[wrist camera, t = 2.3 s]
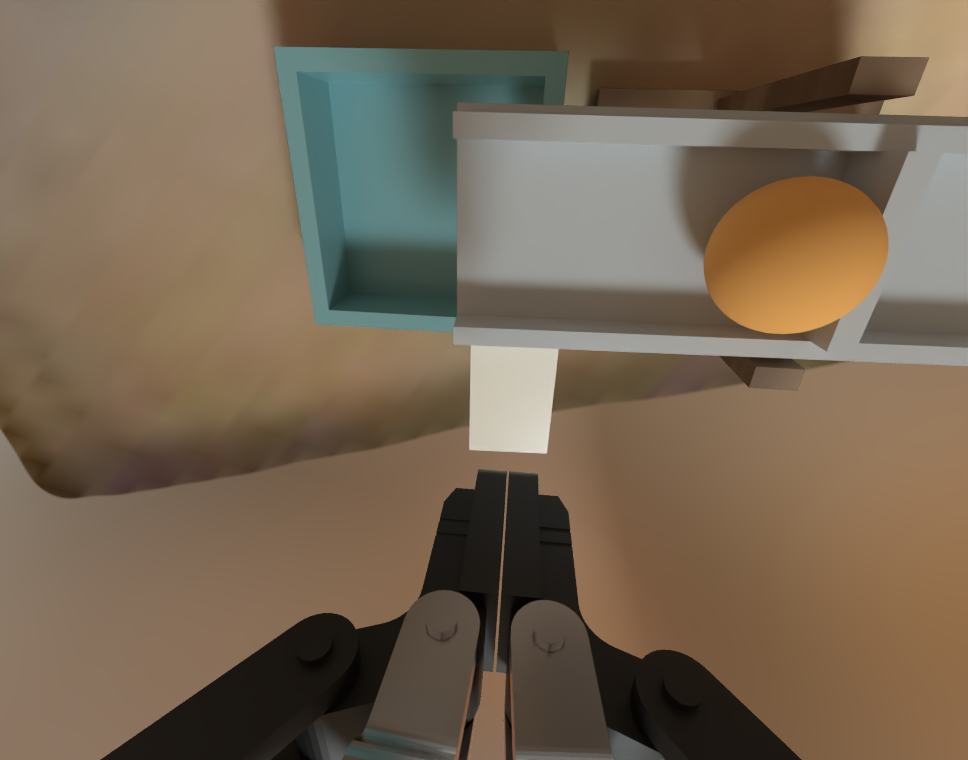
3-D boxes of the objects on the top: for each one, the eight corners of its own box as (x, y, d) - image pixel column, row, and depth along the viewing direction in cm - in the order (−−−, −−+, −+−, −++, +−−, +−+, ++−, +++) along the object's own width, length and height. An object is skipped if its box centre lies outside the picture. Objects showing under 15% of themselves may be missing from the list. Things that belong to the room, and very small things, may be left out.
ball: (695, 170, 12) (800, 178, 9) (824, 174, 13) (974, 182, 9) (664, 308, 14) (742, 359, 11) (779, 307, 15) (890, 356, 11)
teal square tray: (316, 64, 21) (273, 46, 18) (561, 69, 20) (568, 51, 17) (344, 301, 26) (315, 324, 23) (540, 312, 26) (542, 337, 22)
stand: (870, 96, 20) (1169, 45, 11) (793, 312, 24) (954, 409, 15) (597, 90, 21) (651, 38, 11) (571, 300, 25) (595, 385, 16)
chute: (872, 133, 19) (1197, 115, 10) (782, 374, 24) (944, 503, 15) (474, 121, 19) (449, 93, 10) (470, 361, 25) (451, 479, 16)
